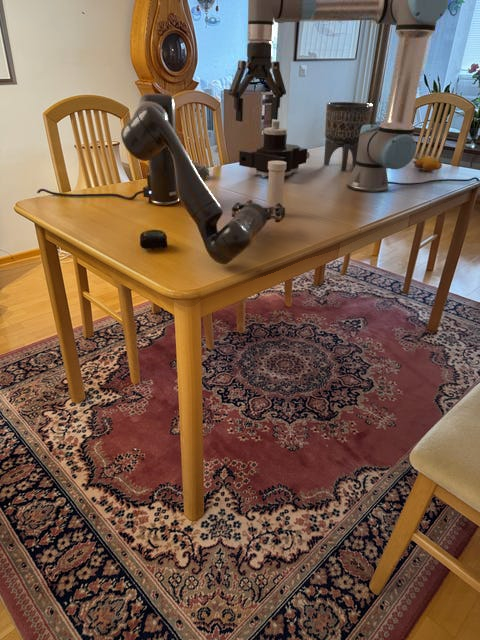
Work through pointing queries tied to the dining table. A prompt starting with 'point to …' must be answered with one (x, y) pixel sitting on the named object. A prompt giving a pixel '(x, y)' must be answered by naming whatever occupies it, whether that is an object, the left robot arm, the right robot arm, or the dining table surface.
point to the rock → (201, 169)
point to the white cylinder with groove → (277, 165)
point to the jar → (275, 188)
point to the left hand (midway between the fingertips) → (264, 205)
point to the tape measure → (153, 239)
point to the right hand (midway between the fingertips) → (257, 120)
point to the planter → (344, 129)
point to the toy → (427, 164)
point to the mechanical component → (274, 152)
